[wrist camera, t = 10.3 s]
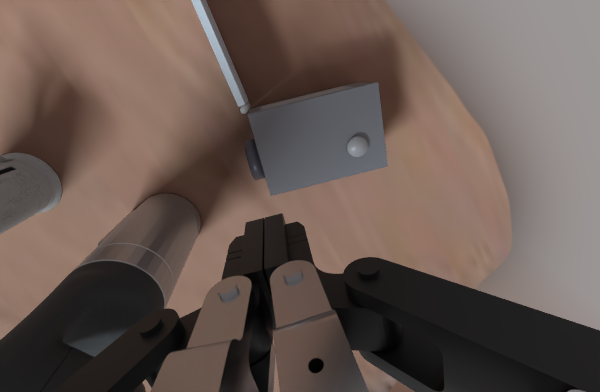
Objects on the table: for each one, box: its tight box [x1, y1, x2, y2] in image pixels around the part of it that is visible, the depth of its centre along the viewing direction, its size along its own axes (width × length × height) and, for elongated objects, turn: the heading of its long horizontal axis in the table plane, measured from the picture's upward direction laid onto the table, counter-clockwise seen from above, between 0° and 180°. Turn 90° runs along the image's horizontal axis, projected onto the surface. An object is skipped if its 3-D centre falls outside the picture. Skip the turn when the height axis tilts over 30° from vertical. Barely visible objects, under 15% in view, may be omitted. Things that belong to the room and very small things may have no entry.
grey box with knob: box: [244, 82, 388, 196], centre depth 37 cm, size 17×10×9 cm, turn 103°
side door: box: [191, 0, 250, 114], centre depth 33 cm, size 16×2×7 cm, turn 21°
